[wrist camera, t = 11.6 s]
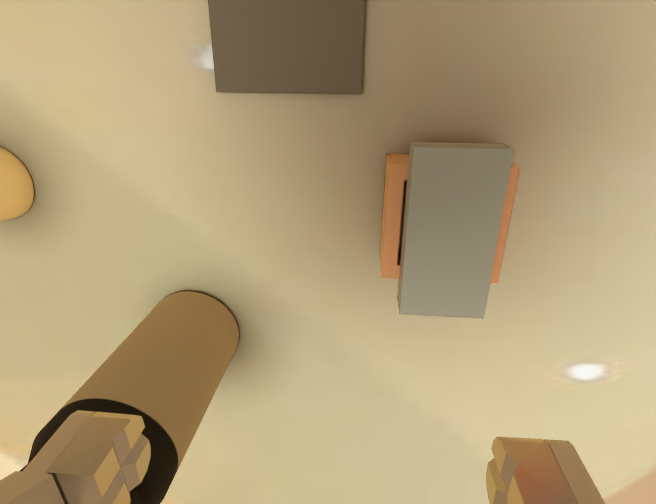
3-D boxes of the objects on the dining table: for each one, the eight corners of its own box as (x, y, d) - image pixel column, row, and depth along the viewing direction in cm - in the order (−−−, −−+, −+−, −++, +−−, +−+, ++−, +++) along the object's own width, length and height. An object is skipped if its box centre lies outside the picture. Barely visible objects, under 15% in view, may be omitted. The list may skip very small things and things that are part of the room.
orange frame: (386, 153, 29) (389, 164, 26) (500, 156, 29) (519, 167, 25) (379, 255, 33) (381, 277, 29) (482, 259, 32) (497, 283, 28)
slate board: (410, 141, 25) (414, 147, 23) (502, 143, 25) (514, 149, 23) (397, 298, 29) (399, 314, 27) (475, 301, 29) (483, 318, 27)
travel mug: (150, 284, 36) (-38, 462, 19) (240, 294, 35) (128, 485, 19) (158, 358, 39) (2, 566, 22) (240, 368, 38) (144, 587, 22)
